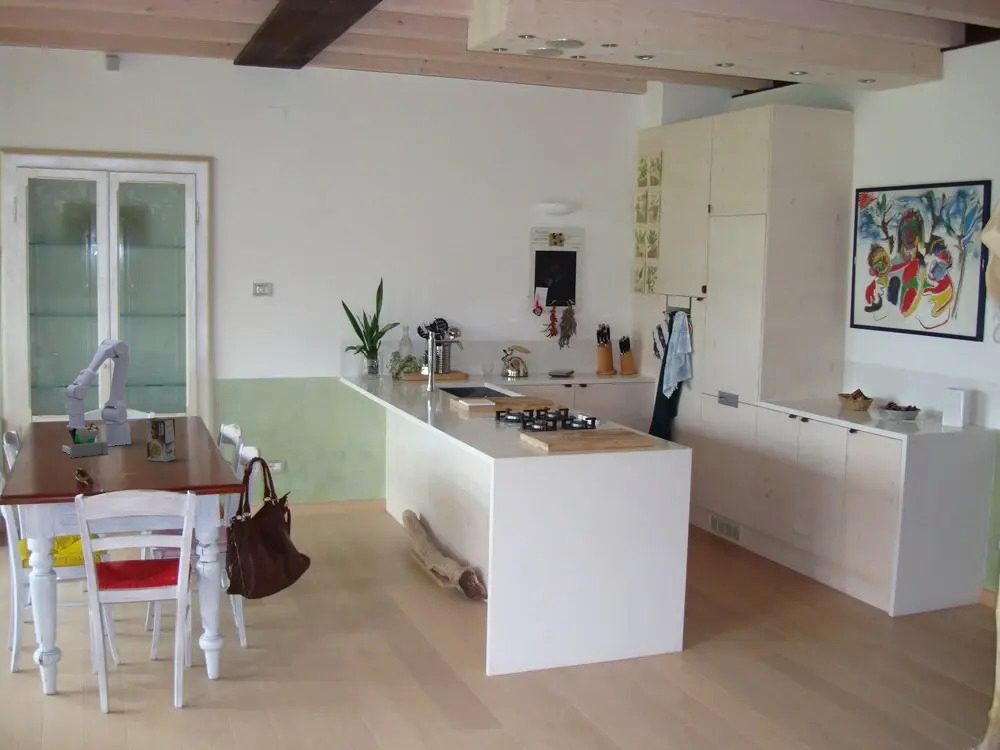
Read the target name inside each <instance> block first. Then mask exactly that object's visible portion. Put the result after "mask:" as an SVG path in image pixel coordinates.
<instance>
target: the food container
mask: <svg viewBox="0 0 1000 750" xmlns="http://www.w3.org/2000/svg"><path fill="white" fill-rule="evenodd" d="M99 434H100V427H99V425H98V424H97V423H95V422H93V421H91V423H90V424H89V425H85V430H81V429H78V428H77V430H76V436H75V440H74V443H72V445H77V444H87V443H95V440H96V437H97V436H99Z"/></svg>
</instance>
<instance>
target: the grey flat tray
mask: <svg viewBox="0 0 1000 750" xmlns="http://www.w3.org/2000/svg"><path fill="white" fill-rule="evenodd" d="M108 447H109V446H108V442H106V440H104V441H98V442H94V443H87V444H77V445H73V444H69V446H68V445H65V444H64V445H62V448H61V449H62V451H64V452H66V453H68V454H70V455H69V458H70V457H78V458H83V457H82V456H87V457H92V456H91V455H96V456H98V455H97V454H109V448H108ZM64 452H63V453H64ZM66 453H65V454H66ZM68 454H67V455H68Z"/></svg>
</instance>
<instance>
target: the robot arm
mask: <svg viewBox="0 0 1000 750" xmlns="http://www.w3.org/2000/svg"><path fill="white" fill-rule="evenodd" d="M107 359H111V360H112V361H113V362H114V364H113V371H112V372H113V373H112V377H111V383H110V384H111V386H110V390H109V391H110V392H109V399H108V400H107V401H106V402H105V403H104V406H103V409H102V410H101V415H100V416H101V419H102V421H103V423H104V424H105V441H106V442H108V447H116V446H115V445H117V446H124V445H125V446H127V445H132V441H131V438H132V437H131V426H130V424H129V422H126V421H127V420H128V411H127V409H128V406H127V405H126V404H125V401H124V398H125V397H124V396H125V390H126V384H127V383H126V382H127V378H128V377H127V376H128V370H129V363H130V357H129V345H128V344H127V343H126V341H125V340H122V339H110V338H109V339H108V338H106V339H102V341H101V343H100V345H99V346H98V350H97V352H96V354H95V355H94V357H93V358H92V361H90V363H89V365H88V367H87V368H84V369H82V370H80V371H79V374H78V375H77V377H76V378H75V380H73V381H72V384H71V383H70V384H69V385H68V386H67V387H66V390H65V392H64V394H65V396H66V397H67V402H68V419H69V421H68V424H66V426H65V427H66V428H71V429H70V430H68V433H69V434H70V436H71V439H72V442H73V443H72V444H74V440H75V436H76V430H77V428H78V429H81V430H85V426H86V423H85V397H86V396H87V394H88V389H89V387H90V386H91V385H92V383H93V382H94V380H95V378H96V372H98V370H99V368H101V366H102V365H103V364H104V362H106V360H107ZM126 444H127V445H126Z"/></svg>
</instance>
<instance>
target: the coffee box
mask: <svg viewBox="0 0 1000 750" xmlns="http://www.w3.org/2000/svg"><path fill="white" fill-rule="evenodd" d="M175 420H176V419H175V418H172V417H171V418H170V417H152V418H149V419H146V420H145V428H146V429H145V431H146V432H145V433H146V452H147V453H146V454H147V457H146V458H147V459H146V460H147V461H154V462H171V461H175V460H176V429H175V428H176V421H175Z"/></svg>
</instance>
